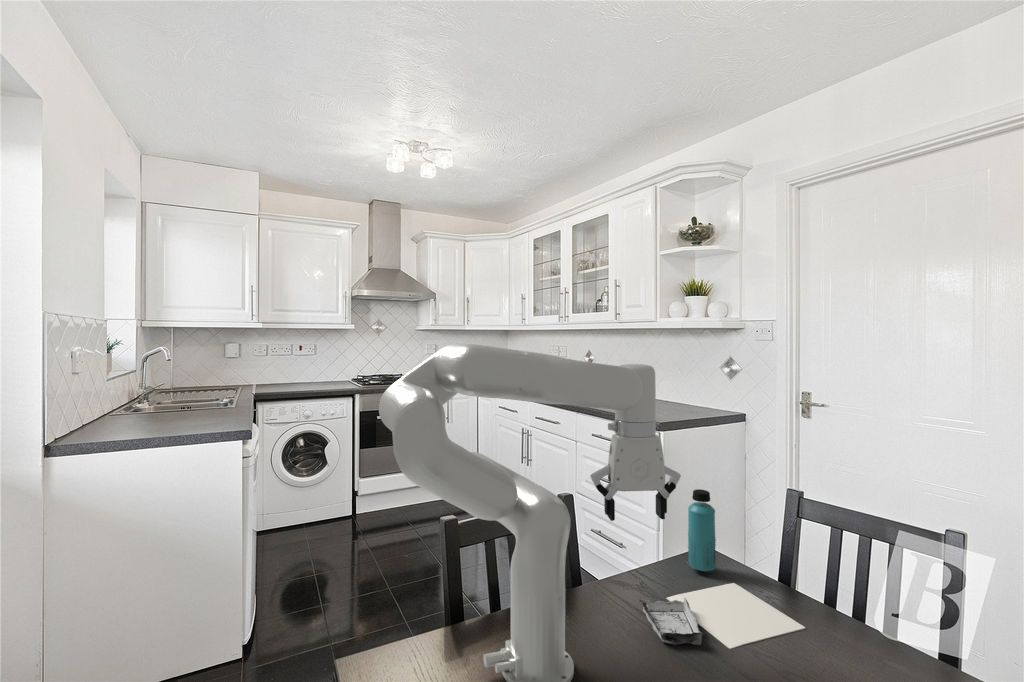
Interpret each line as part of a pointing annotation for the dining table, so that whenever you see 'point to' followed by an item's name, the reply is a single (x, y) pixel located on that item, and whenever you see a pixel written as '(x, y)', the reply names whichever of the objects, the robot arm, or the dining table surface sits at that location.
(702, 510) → the beverage bottle
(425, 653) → the dining table surface
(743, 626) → the mat
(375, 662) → the dining table surface
